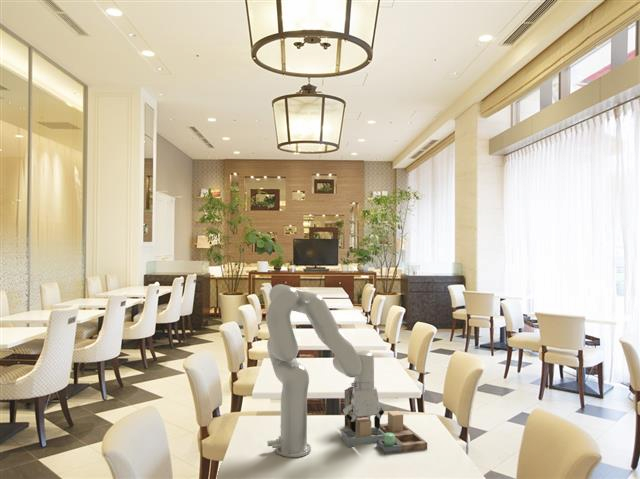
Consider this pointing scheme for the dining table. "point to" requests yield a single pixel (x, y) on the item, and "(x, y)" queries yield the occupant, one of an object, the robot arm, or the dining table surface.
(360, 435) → the block
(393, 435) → the button
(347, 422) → the coffee box
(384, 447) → the grey square socket
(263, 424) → the dining table surface
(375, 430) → the tote frame
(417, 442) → the brown divided tray
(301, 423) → the robot arm
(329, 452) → the dining table surface
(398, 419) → the seated block
